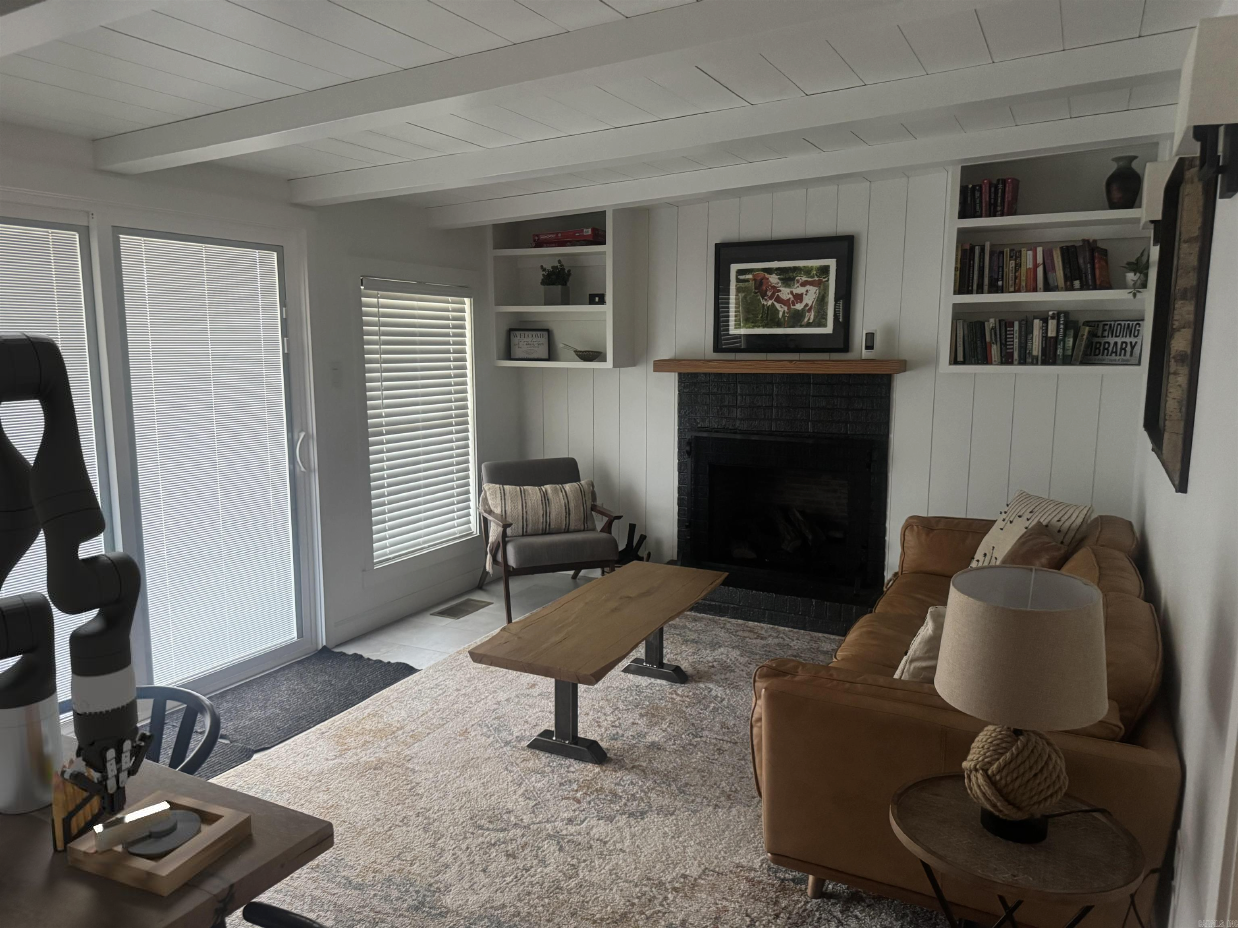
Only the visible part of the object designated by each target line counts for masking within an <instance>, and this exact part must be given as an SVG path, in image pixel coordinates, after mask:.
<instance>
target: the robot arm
mask: <svg viewBox="0 0 1238 928" xmlns="http://www.w3.org/2000/svg"><path fill="white" fill-rule="evenodd" d="M35 400H37V401H38V403H39V404H40V407H41V410H42V415H43V423H44V425H43V431H42V436H41V440H40V444H39V445H38V446H39V447H38V449H37V452H36V455H35V457H34V460H33V462H32V463H31V462H30V461H29V460H28V459H27V458H26V457H25V456H24V455H23V454H22V453H21V451H20V450H19V449H18V448H17V447H16V446H15V445H14V444H13V442H12V441H11V440H10V438H9V437H8V435H7V433H6V432H5V429H4V426H3V424H2V420H1V419H2V418H1V417H0V592H1V591H2V588H3V585H4V583H5V581H6V580H7V578H8V576H9V574H10V573H11V572H12V570H13V569H14V568H15V567H16V566H17V564H18V563H19V562H20V561H21V559H22V558H24V556H25V555H26V553H27V552H28V551H29V550H30V549H31V547H32V546H33V544H34V543H35V542H36V540H37V539H38V537H39V535H40V534H41V531H42V533H43V535H44V536H43V537H44V542H45V556H46V557H45V559H46V592H47V595H48V597H47V596H46V595H45V594H44V593H41V592H39V591H32V592H25V593H20V594H15V595H9V596H6V597H0V661H3V660H8V659H11V658H15V657H19V656H20V658H19V659H18V660H17V661H15V663H13V664H12V665H11V666H10V667H8V668H6V669H5V670H4V671H2V672H0V813H1V814H7V815H17V814H18V815H19V814H24V813H30V812H34V811H37V810H40V809H42V808H45V807H47V806H49V805H51V804H52V798H53V776H54V773H55V771H58V773H59V774H60V776H61V777H62V778H63V779H65V780H66V781H68V782H70V783H71V784H73V785H74V786H76V787H78V788H79V789H81V790H83V791H84V792H87V793H92V794H94V795H97V796H99V797H100V809H101V811H102V812H104V814H105V815H109V816H111V817H115V816H117V815H118V814H120V813H122V812H123V811H125V806H126V803H127V795H126V794H127V793H126V786H127V783H128V780H129V779H130V778H131V777H135V776H136V775H137V774H138V772H139V770H140V769H141V766H142V764H143V762H144V760H145V757H146V756H147V754H148V751H149V749H150V747H151V745H152V742H153V740H154V739H155V735H154V733H150V732H148V731H147V732H146V731H144V730H140V729H139V726H138V725H137V724H138V722H139V713H138V712H139V710H138V709H139V708H138V700H137V698H138V697H137V684H136V673H135V670H134V666H133V661H132V660H133V659H132V646H131V645H132V644H131V631H132V627H133V622H134V619H135V618H134V617H135V613H136V609H137V607H138V600H139V597H140V593H141V587H142V586H141V585H142V576H141V571H140V568H139V566H138V563H137V562H136V560H135V559H134V558H133V556H131V555H130V554H128V553H126V552H124V551H111V552H105V553H101V554H97V555H91V556H88V557H82V558H80V556H79V550H80V546H81V545H82V544H83V543H86V542H89V541H91V540H93V539H95V538H98V537H99V536H100V535H103V533H104V531H105V530H106V528H107V527H106V525H107V524H106V520H105V516H104V514H103V511H102V508H101V506H100V503H99V500H98V497H97V494H96V492H95V488H94V487H93V484H92V481H91V479H90V475H89V472H88V469H87V464H86V462H85V461H86V460H85V458H84V457H85V456H84V452H83V448H82V443H81V437H80V436H81V435H80V431H79V424H78V420H77V415H76V407H75V404H74V399H73V393H72V389H71V384H70V379H69V374H68V370H67V365H66V362H65V359H64V357H63V353H62V351H61V349H60V348H59V346H58V344H57V343H56V341H55V340H54V339H53V338H52V337H51V336H50V335H48V334H45V333H42V332H29V331H28V332H27V331H26V332H1V333H0V406H1V405H2V403H10V402H11V403H12V402H23V401H35ZM50 602H51V603H50ZM51 604H52V605H53V606H54V607H55V608H56V610H58V611H59V612H61V613H63V614H64V615H69V616H76V615H80V614H85V613H89V612H91V611H95V610H98V611H97V613H96V615H95V616H94V617H93V618H91V619H90V620H88V621H86V622H85V623H83V624H81V625H79V626H78V627H76V628H75V629H73V631H71V633H70V635H69V639H68V645H69V647H68V649H69V659H70V669H71V671H70V673H71V678H70V699H71V709H72V722H73V729H74V730H73V731H74V736H75V737H76V740H77V747H76V750H75V754H74V755H75V759H76V758H77V759H76V760H75V759H74V763H73V764H72V766H71V767H70V768H69V769H68V767H67V768H65V769H63V770H62V771H61V768H62V766H63V765H65V758H64V749H63V739H62V727H61V725H62V724H61V718H60V706H59V698H58V695H59V694H58V686H57V662H56V643H55V642H56V638H55V637H56V634H55V633H56V632H55V630H56V629H55V617H54V613H53V607H52V605H51ZM85 765H86V766H87V767H89V768H90V771H91V774H92V776H93V777H94V780H95V781H93V780H92V779H90V778H89V777H87V775H88V772H87V770H86V768H85Z"/></svg>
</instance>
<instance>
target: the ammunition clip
mask: <svg viewBox="0 0 1238 928" xmlns="http://www.w3.org/2000/svg"><path fill="white" fill-rule="evenodd" d="M76 759H77V758H76V757H75V759H73V758H72V757H71V758H70V759H69V761H68V765H66V764H64V765H63V766H62V768H61V771H62V770H63V769H65V768H67V769H69V768H70V767H71V766H72V764H73V763H74V762H75V760H76ZM85 768H86V770H87V772H88V775H87V777H89V778H90V779H92V780H93V781H95V780H94V777H93V776H92V774H91V771H90V768H89V767H87V766H86V765H85ZM52 814H53V816H52V817H51V818H50V822H51V823H50V824H51V835H52V837H51V838H52V849H53V851H52V852H57V853H58V852H67V845H68V844H70V843H71V842H73V841H75V840H76V839H78V838H80V837H81V836H83V835H85V834H87V833H88V832H89V830H90V829H91V828H92V827H93V825H94V824H95V823H96V822H97V821H98V820H99V819H101V817H102V816H103V815H104V814H105V813H104V812H102V811H101V809H100V797H99V796H97V795H94V794H92V793H87V792H84V791H83V790H81V789H79V788H78V787H76V786H74V785H73V784H71V783H70V782H68V781H66V780H65V779H63V778H62V777H61V776H60V774H59V773H58V771H55V773H54V776H53V798H52ZM86 832H87V833H86Z"/></svg>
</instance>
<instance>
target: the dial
mask: <svg viewBox="0 0 1238 928" xmlns="http://www.w3.org/2000/svg"><path fill="white" fill-rule="evenodd" d="M105 822H106V823H105ZM105 822H103V823H100V824H98V825H95V826H93V829H94V837H95V847H96V849H97V851H98V853H99V852H102V851H104V850H107V849H110V848H113V847H115V846H118V845H121V844H122V851H123V852H124V853H127V854H130V855H133V856H137V857H140V858H143V859H146V860H148V859H156V858H161V857H165V856H168V855H169V854H171V853H172V852H174V851H175V850H176V849H178V848H179V847H181V846H182V845H184V844H185V843H187V842H188V841H189V840H191V839H192V838H194V837H195V836H197V835H198V834H200V832H201V820H200V817H199V816H198V815H197V814H196V813H194V812H191V811H186V810H171V811H170V807H169V805H168V804H167V803H166V802H164V803H161V804H158V805H155V806H152V807H149V808H146V809H143V810H140V811H137V812H135V813H132V814H129V815H126V816H123V817H120V818H117V819H114V820H111V821H109V822H107V821H105Z"/></svg>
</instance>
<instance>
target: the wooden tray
mask: <svg viewBox="0 0 1238 928" xmlns="http://www.w3.org/2000/svg"><path fill="white" fill-rule="evenodd" d="M164 802H166V803H167V804H168V805H169V807H170V811H171V810H186V811H191V812H194V813H196V814H197V815H198V816H199V817H200V820H201V832H200V834H198V835H197V836H195V837H194V838H192V839H191V840H189V841H188V842H187V843H185V844H184V845H182V846H181V847H179V848H178V849H176V850H175V851H174V852H172V853H171V854H169V855H168V856H165V857H161V858H156V859H148V860H146V859H143V858H140V857H137V856H133V855H130V854H127V853H124V852H123V851H122V844H121V845H118V846H115V847H113V848H110V849H107V850H104V851H102V852H99V853H98V851H97V849H96V847H95V837H94V828H92V829H91V830H90V831H87V833H85V834H84V835H83V836H81V837H80V838H78V839H76V840H75V841H73V842H71V843H70V844H68V845H67V851H66V854H67V865H68V866H70V867H73V868H76V869H79V870H83V871H85V872H89V873H91V874H95V875H99V876H100V877H103V878H107V879H111V880H114V881H116V882H119V883H122V884H124V885H125V884H126V885H128V886H132V887H134V888H139V889H141V890H145V891H147V892H150V893H153V894H155V895H159V896H162V897H165V898H167V897H168V896H169V895H170V894H171V893H173V892H174V891H175V890H177V889H178V888H180V887H181V886H182V885H184V884H185V883H186V882H188V881H189V880H190V879H192V878H194V877H195V876H196V875H197V874H198V873H200V872H201V871H202V870H204V869H205V868H207V867H208V866H209V865H210V864H212V863H213V862H214V861H217V860H218V859H219V858H220V857H221V856H222V855H224V854H225V853H227V852H228V851H229V850H231V849H232V848H234V847H235V846H236V845H237V844H239V843H240V842H242V841H243V840H245V839H246V838H247V837H248V836H249V835H250V834H253V832H252V816H251V815H252V814H251V813H247V812H243V811H239V810H235V809H232V808H228V807H225V806H220V805H218V804H217V805H216V804H213V803H209V802H206V801H202V800H198V799H195V798H192V797H187V796H183V795H180V794H176V793H173V792H169V791H165V790H161V789H159V790H157V791H155V792H154V793H152V794H150V795H149V796H147V797H144V799H142V800H140V801H138V802H137V803H135V804H133V805H132V806H130V807H129V808H127V809H124V810H123V811H121V812H120V813H118V814H116V815H115V816H112V818H110V819H108V820H107V821H105V822H104V823H106V822H109V821H111V820H114V819H117V818H120V817H123V816H126V815H129V814H132V813H135V812H137V811H140V810H143V809H146V808H149V807H152V806H155V805H158V804H161V803H164Z"/></svg>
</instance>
